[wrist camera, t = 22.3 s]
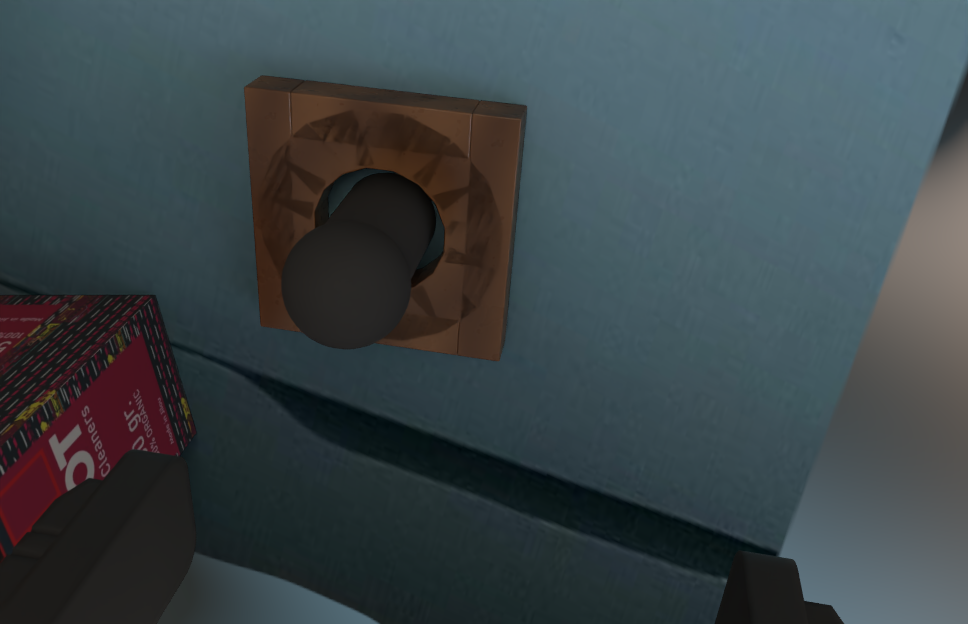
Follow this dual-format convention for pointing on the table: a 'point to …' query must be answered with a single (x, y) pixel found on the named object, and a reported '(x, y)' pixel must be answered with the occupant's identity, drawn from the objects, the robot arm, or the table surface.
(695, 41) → the table surface
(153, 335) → the box
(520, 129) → the display base
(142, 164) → the table surface
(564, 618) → the table surface
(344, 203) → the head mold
